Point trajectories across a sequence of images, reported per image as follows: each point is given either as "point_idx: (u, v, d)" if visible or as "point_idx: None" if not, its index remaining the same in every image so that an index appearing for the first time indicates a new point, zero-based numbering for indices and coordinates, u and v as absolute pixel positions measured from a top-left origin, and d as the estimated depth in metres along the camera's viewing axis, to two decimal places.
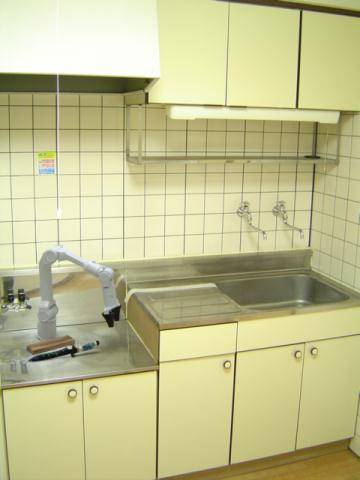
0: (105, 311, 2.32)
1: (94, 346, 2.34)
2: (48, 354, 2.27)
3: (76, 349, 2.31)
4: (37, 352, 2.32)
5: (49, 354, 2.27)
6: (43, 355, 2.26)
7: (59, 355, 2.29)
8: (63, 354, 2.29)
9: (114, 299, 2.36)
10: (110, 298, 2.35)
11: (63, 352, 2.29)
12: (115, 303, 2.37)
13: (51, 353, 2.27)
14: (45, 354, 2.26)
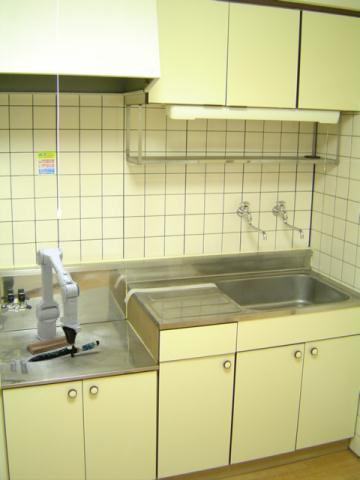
0: None
1: (94, 346, 2.34)
2: (48, 354, 2.27)
3: (76, 349, 2.31)
4: (37, 352, 2.32)
5: (49, 354, 2.27)
6: (43, 355, 2.26)
7: (59, 355, 2.29)
8: (63, 354, 2.29)
9: (63, 316, 2.21)
10: None
11: (62, 352, 2.29)
12: (63, 321, 2.21)
13: (51, 353, 2.27)
14: (45, 354, 2.26)
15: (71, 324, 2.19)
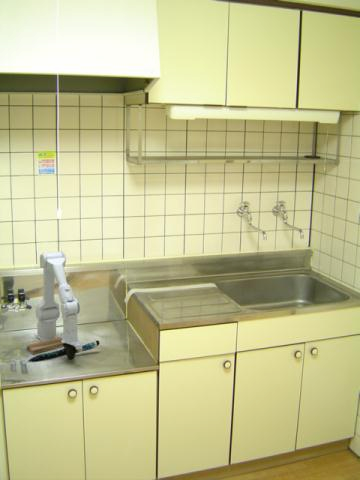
0: None
1: (94, 346, 2.34)
2: (48, 354, 2.27)
3: None
4: (37, 352, 2.32)
5: (49, 354, 2.27)
6: (43, 355, 2.26)
7: (59, 355, 2.29)
8: (63, 354, 2.29)
9: (63, 333, 2.23)
10: None
11: (62, 352, 2.29)
12: (63, 337, 2.23)
13: (51, 353, 2.27)
14: (45, 354, 2.26)
15: (71, 341, 2.21)
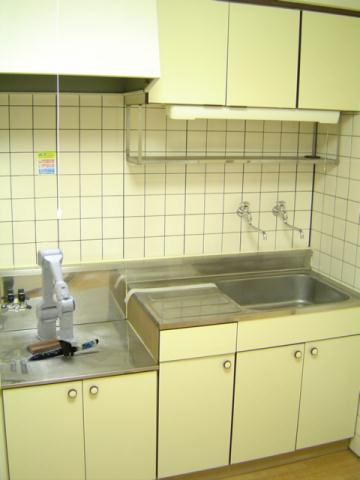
0: None
1: (93, 344, 2.34)
2: (48, 353, 2.27)
3: (75, 347, 2.31)
4: (37, 352, 2.32)
5: (49, 353, 2.27)
6: (43, 354, 2.26)
7: (59, 354, 2.29)
8: None
9: (59, 330, 2.26)
10: None
11: (62, 351, 2.30)
12: (59, 334, 2.26)
13: (50, 352, 2.28)
14: (45, 353, 2.27)
15: (67, 338, 2.24)
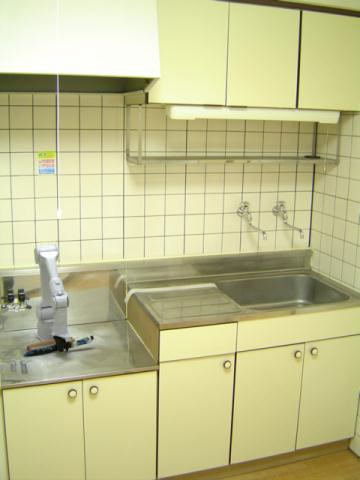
0: None
1: (88, 340, 2.37)
2: (43, 349, 2.31)
3: (70, 343, 2.35)
4: None
5: (44, 349, 2.32)
6: (38, 350, 2.31)
7: (54, 350, 2.33)
8: None
9: (53, 326, 2.29)
10: None
11: None
12: (53, 330, 2.30)
13: (46, 348, 2.32)
14: (40, 349, 2.31)
15: (61, 333, 2.28)
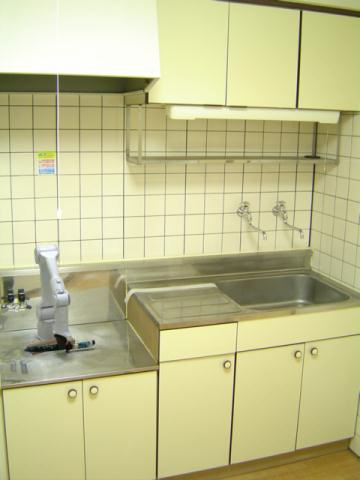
0: None
1: (89, 345, 2.37)
2: (44, 346, 2.31)
3: (71, 345, 2.34)
4: (37, 352, 2.32)
5: (45, 347, 2.31)
6: (39, 347, 2.30)
7: (54, 349, 2.32)
8: (58, 349, 2.33)
9: (54, 324, 2.28)
10: None
11: None
12: (55, 328, 2.29)
13: (47, 346, 2.31)
14: (41, 346, 2.30)
15: (62, 332, 2.27)
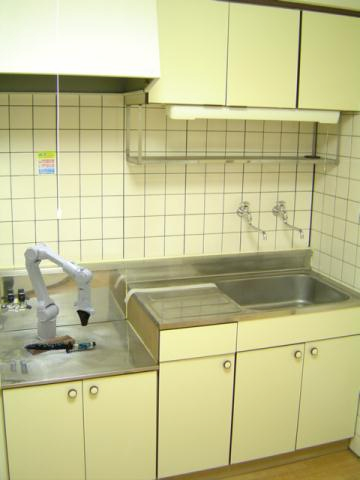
0: None
1: (90, 346, 2.37)
2: (44, 345, 2.31)
3: (72, 346, 2.34)
4: (37, 352, 2.32)
5: (45, 345, 2.31)
6: (39, 345, 2.30)
7: (54, 348, 2.32)
8: (58, 348, 2.33)
9: None
10: None
11: (58, 346, 2.33)
12: (77, 305, 2.37)
13: (47, 344, 2.31)
14: (41, 344, 2.30)
15: (85, 307, 2.36)
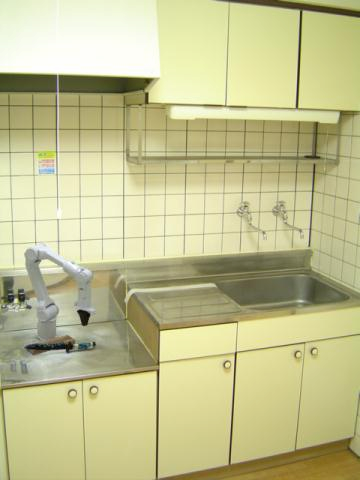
0: None
1: (90, 346, 2.37)
2: (44, 345, 2.31)
3: (72, 346, 2.34)
4: (37, 352, 2.32)
5: (45, 345, 2.31)
6: (39, 345, 2.30)
7: (54, 348, 2.32)
8: (58, 348, 2.33)
9: (78, 300, 2.37)
10: None
11: (58, 346, 2.33)
12: (78, 304, 2.38)
13: (47, 344, 2.31)
14: (41, 344, 2.30)
15: (85, 307, 2.36)
